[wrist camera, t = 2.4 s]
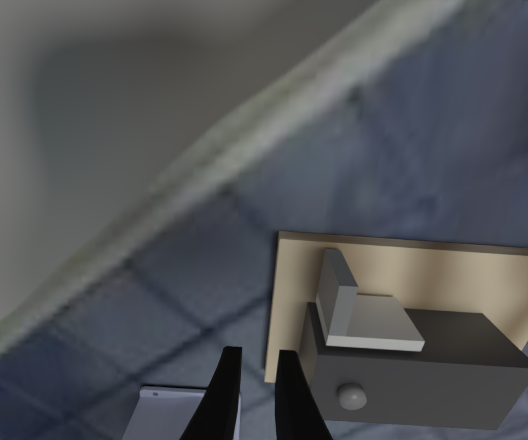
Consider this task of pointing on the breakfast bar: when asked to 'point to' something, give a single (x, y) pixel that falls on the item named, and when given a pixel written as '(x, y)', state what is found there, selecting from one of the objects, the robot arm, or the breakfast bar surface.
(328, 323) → the door
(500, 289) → the board
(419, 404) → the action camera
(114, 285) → the breakfast bar surface
